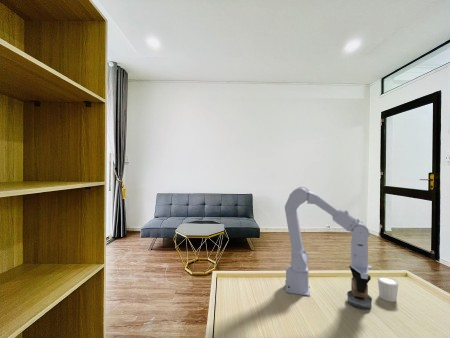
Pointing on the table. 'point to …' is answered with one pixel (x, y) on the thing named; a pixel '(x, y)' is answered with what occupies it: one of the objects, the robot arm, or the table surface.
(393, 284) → the grey and white cylinder
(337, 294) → the table surface
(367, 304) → the tin
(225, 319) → the table surface
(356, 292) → the walnut block
